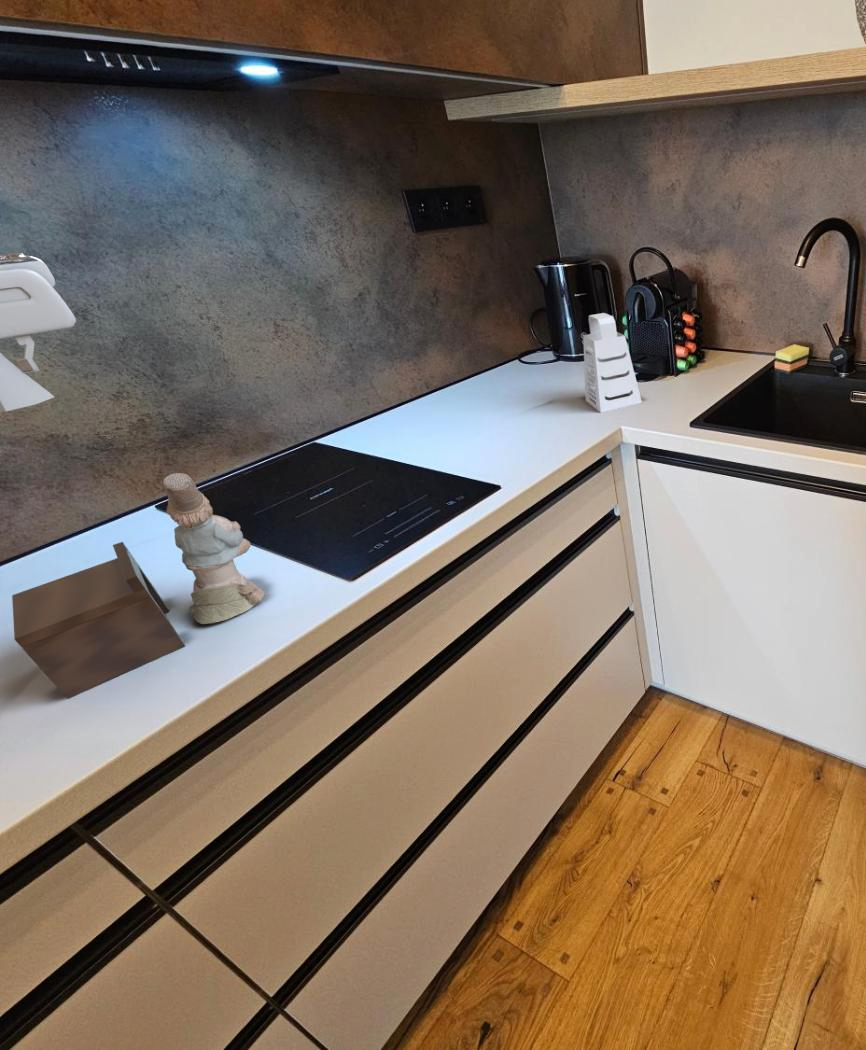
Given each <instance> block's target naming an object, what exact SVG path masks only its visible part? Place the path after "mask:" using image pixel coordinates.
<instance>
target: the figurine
mask: <svg viewBox="0 0 866 1050" xmlns="http://www.w3.org/2000/svg"><path fill="white" fill-rule="evenodd" d="M162 484H163V488H164V491H165V494H166V496H167V499H168V500H167V506H166V514H167V515H169V517H170V518H171V520H172V521H174V523H176V524H177V526H176V527H174V528H173V531H174V543H175V546H176V547H177V548H178V549H180V550H181V551H182V553H181V563H183V564H184V566H185V568H186V569H187V570H188V571H192V574H193V575H194V577H195V579H194V581H193V587H192V588H193V590H192V592H191V593H190V596H191V599H192V603H193V604H191V605H189V606H188V609H189V612H190V613H191V614H193V618H194V620H195V621H196V622H197V623H199V624H201V625H207V624H215V623H220V622H222V621H227V620H229V619H231V618H232V619H233V618H234V617H236V616H238V615H241V614H243V613H245V612H247V611H249V610H251V609H252V608H253V607H254V606H256V605H258V603H260V602H262V601H263V598H264V596H265V594H266V592H265V590H263V589H262V588H259V586H258V585H257V584H255V583H254V582H252V581H251V580H249V579H247V578H246V576H245V575H244V574H242V573H240V571H239V569H237V566H236V564H235V561H234V559H235V558H238V557H240V556H242V555H244V554H246V553H247V552H248V551H249V550H250V548H251V546H252V545H251V542H250V541H249V540H248V539H246V538H244V535H243V531H241V525H240V524H239V523H238V522H237V521H235V520H234V521H231V520H229V519H228V518H226V517H224V516H221V515H217V514H213V513H214V511H213V507H212V506H211V504H210V500H209V499H208V498H207V497H206V496H205V495H204V493H202V492H201V491H200V490H199V489H198V487H197V486H196V484H195V482H194V480H193V479H192V478H191V477H190V476H189V475H188V474H186V473H182V472H175V473H171V474H169V475H166V476H165V478H164V479H163V482H162Z"/></svg>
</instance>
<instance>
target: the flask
mask: <svg viewBox="0 0 866 1050" xmlns="http://www.w3.org/2000/svg"><path fill="white" fill-rule="evenodd" d="M54 398H55V396H54V395H53V394H52V393H51V392H50V391H48V390H47V389H46V388H44V387H43V386H42V385H41V384H39V383H38V382H37V381H35V380H34V379H33V378H31V377H30V376H29V375H27V374H25V373H24V372H23V370H22V369H20V368H19V367H18V366H17V365H15V364H14V363H13V362H12V361H10V360H9V359H8V358H7V357H6V356H5V355H3V354H2V352H0V413H4V412H5V413H6V412H10V411H14V410H19V409H24V408H28V407H32V406H35V405H37V404H40V403H43V402H45V401H49V400H50V399H54Z"/></svg>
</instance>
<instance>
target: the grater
mask: <svg viewBox="0 0 866 1050" xmlns="http://www.w3.org/2000/svg"><path fill="white" fill-rule="evenodd" d="M616 324H617V323H616V320H615V317H614V316H612V315H610V314H608V313H605V312H601V313H596V314H590V315H588V325H589V332H590V333H589V334H583V336H582V338H583V342H582V343H583V365H584V366H583V367H584V390H585V391H584V392H585V393H584V394H585V401H586V403H588V404H589V405H590V406H591V407H593V408H594V409H595V410H596V411H598V412H599V413H600V414H601V413H602V414H603V413H605V412H610V411H615V410H618V409H623V408H626V407H627V408H628V407H630V406H635V405H639V404H643V401H642V397H641V393H640V389H639V385H638V381H637V378H636V374H635V370H634V367H633V362H632V358H631V354H630V351H629V347H628V343H627V339H626V335H625V334H623V333H620V332H618V331H617V325H616ZM625 394H628V396H624V397H619V398H614V399H611V400H610V398H613V397H618V396H623V395H625ZM606 398H609V399H606Z"/></svg>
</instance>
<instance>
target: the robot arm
mask: <svg viewBox="0 0 866 1050" xmlns="http://www.w3.org/2000/svg"><path fill="white" fill-rule="evenodd" d="M28 260H30V261H28ZM56 285H57V280H56V277H55V276H54V274H53V272H52V270H51V268H50V267H49V265H48V264H47V263H45V261H43V260H42V259H40V258H38V257H36V256H34V255H29V254H28V255H27V254H24V253H23V252H9V253H6V254H0V340H2V339H9V338H14V339H15V341H16V342H17V344H18V345H19V346H24V353H23V354H24V355H23V357H20V358H16V359H15V362H16V363H17V364H18V366H19V367H20V368H21V371H22V372H24V373H25V374H26V375H27V374H34V373H39V372H41V370H40V368H39V366H38V365H37V363H36V362H35V360H34V354H35V353H34V351H35V344H36V343H35V341H34V339H33V338H32V336H31V335H33V334H38V333H39V334H40V333H46V332H47V333H48V332H54V331H58V330H65V329H70V328H73V327H74V326H75V324H76V322H77V318H76V316H75V315H74V313H73V312H72V310H71V309H70V307H69V306H68V304H67V303H66V302H65V301H64V299H63V298H62V297H61V295H60V294H59V293H58V292H57V290H56V289H55V288H56Z"/></svg>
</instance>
